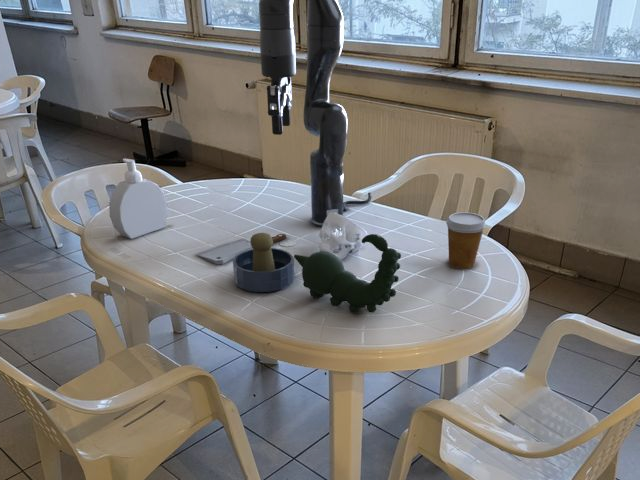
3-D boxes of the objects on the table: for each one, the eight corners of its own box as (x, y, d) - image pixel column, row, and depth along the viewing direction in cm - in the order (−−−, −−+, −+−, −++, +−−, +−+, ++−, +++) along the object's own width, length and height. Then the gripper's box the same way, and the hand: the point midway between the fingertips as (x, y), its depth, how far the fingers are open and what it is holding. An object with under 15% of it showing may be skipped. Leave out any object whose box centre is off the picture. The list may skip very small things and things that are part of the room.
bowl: (243, 266, 154) (241, 246, 151) (299, 269, 153) (298, 249, 150) (227, 292, 142) (225, 270, 139) (287, 295, 141) (286, 273, 138)
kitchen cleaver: (269, 228, 174) (291, 236, 168) (270, 232, 175) (292, 240, 168) (195, 252, 160) (216, 262, 154) (195, 256, 161) (216, 266, 154)
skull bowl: (300, 252, 158) (318, 206, 157) (334, 265, 169) (350, 223, 168) (329, 263, 152) (347, 216, 150) (361, 277, 163) (379, 233, 161)
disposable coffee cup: (483, 259, 158) (489, 214, 152) (477, 274, 150) (483, 227, 144) (446, 254, 161) (450, 209, 154) (439, 268, 153) (443, 222, 147)
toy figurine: (398, 313, 137) (303, 280, 146) (410, 234, 126) (307, 204, 135) (379, 332, 130) (281, 296, 139) (390, 250, 119) (283, 217, 129)
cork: (252, 273, 150) (248, 230, 144) (277, 272, 150) (274, 229, 144) (251, 284, 145) (247, 240, 139) (277, 283, 145) (274, 239, 139)
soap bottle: (159, 221, 182) (148, 152, 171) (171, 225, 179) (160, 155, 168) (112, 237, 171) (97, 165, 160) (124, 242, 168) (109, 168, 158)
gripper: (268, 47, 139) (272, 122, 147) (252, 55, 127) (258, 136, 135) (301, 48, 138) (303, 123, 147) (288, 56, 126) (291, 137, 135)
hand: (281, 129), depth 141 cm, fingers open, 8 cm apart
